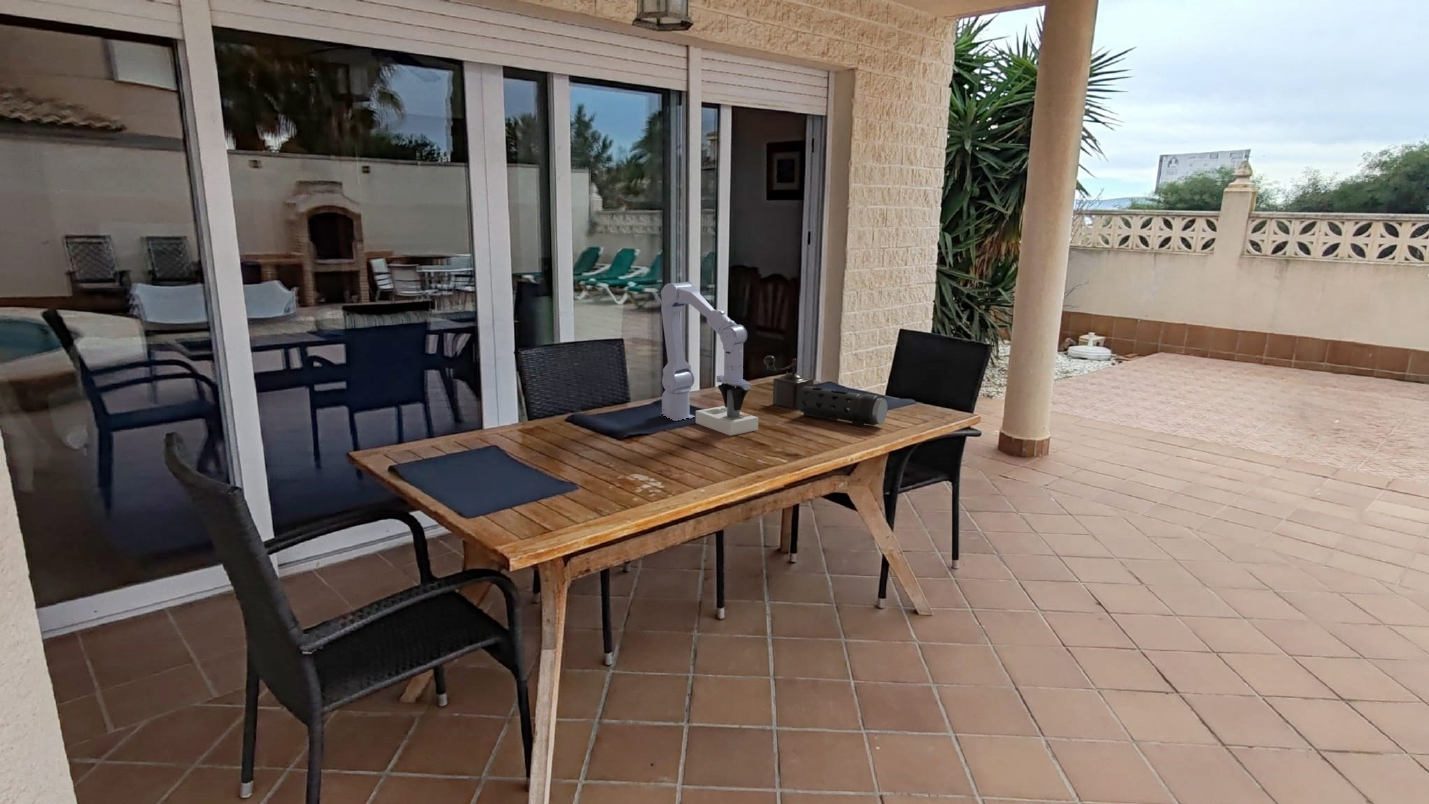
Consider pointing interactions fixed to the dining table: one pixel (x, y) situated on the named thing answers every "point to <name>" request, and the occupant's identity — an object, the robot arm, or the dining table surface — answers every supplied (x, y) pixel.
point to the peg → (731, 406)
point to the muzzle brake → (842, 405)
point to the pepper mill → (787, 385)
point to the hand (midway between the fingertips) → (733, 408)
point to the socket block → (726, 421)
